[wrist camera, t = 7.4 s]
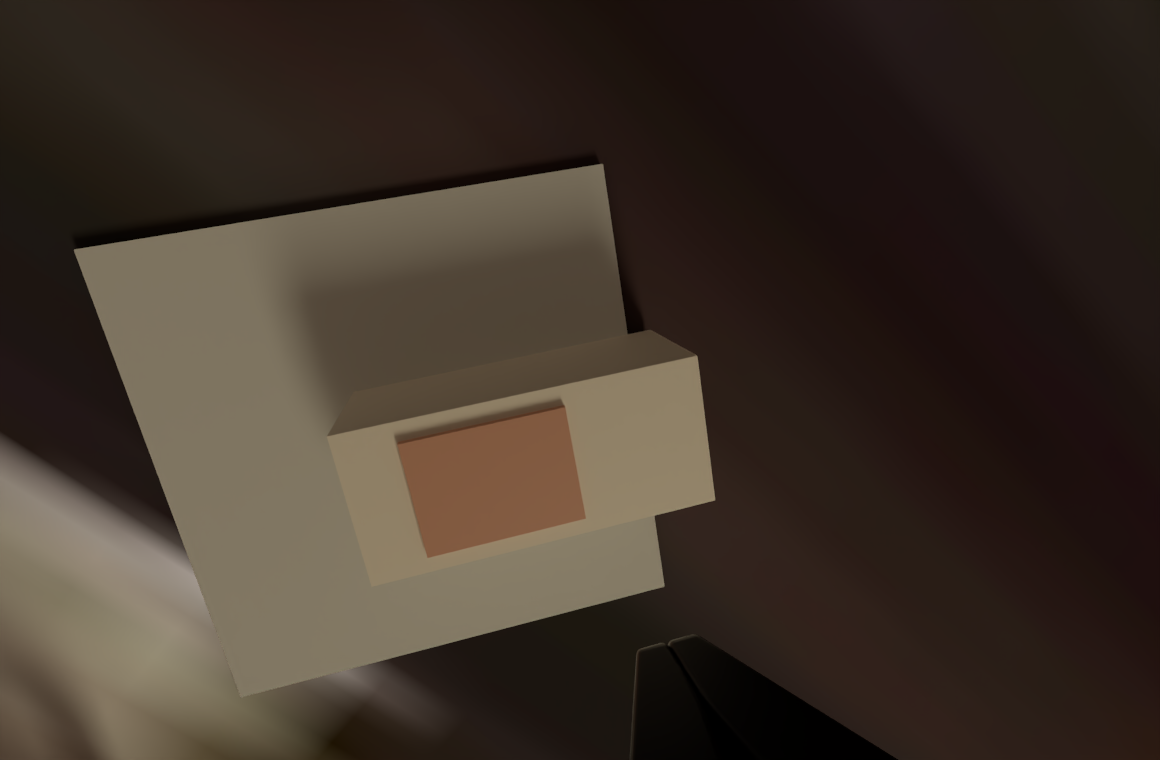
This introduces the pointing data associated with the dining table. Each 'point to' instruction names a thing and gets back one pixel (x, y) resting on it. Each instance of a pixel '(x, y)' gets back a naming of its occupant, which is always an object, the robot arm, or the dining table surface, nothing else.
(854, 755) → the robot arm
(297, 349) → the mat
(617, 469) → the block
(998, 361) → the dining table surface
